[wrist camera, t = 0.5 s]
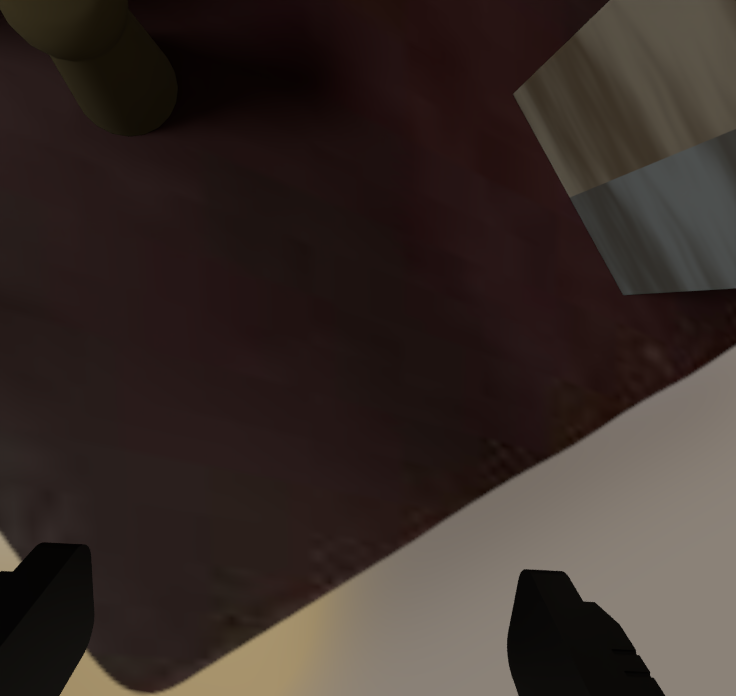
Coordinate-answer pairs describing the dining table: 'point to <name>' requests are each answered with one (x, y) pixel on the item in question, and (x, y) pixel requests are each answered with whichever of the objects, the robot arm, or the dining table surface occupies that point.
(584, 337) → the dining table surface
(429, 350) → the dining table surface
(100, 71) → the olive cylinder
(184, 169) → the dining table surface
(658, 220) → the stepped stand
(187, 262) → the dining table surface
